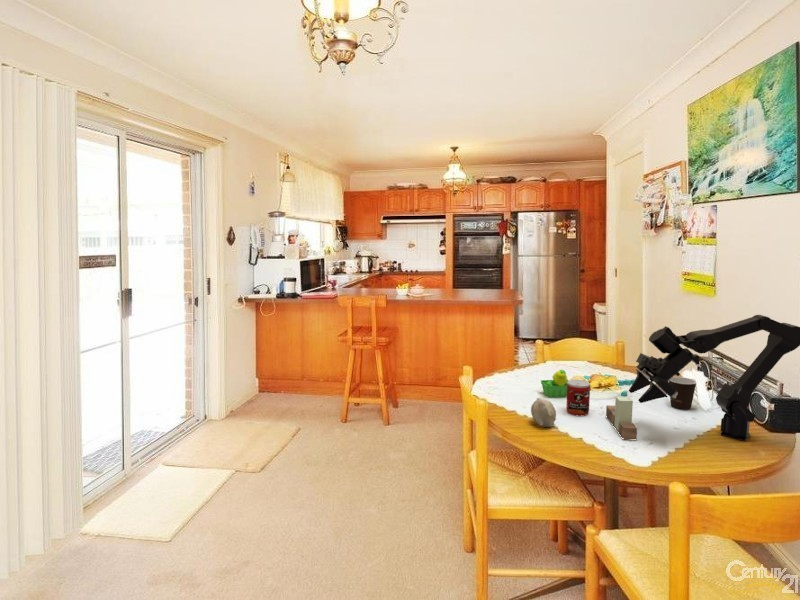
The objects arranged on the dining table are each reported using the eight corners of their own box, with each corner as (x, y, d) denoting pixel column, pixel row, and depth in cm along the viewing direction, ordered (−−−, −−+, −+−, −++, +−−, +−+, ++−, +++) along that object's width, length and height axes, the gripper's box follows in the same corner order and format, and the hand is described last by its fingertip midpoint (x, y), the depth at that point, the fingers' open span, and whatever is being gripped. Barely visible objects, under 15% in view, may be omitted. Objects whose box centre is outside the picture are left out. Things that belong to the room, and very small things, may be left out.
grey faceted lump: (548, 436, 157) (551, 413, 152) (524, 426, 161) (526, 403, 157) (559, 419, 163) (562, 397, 158) (536, 410, 168) (538, 388, 163)
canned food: (566, 415, 168) (567, 385, 167) (566, 407, 176) (567, 378, 174) (589, 417, 166) (590, 386, 164) (588, 409, 173) (589, 380, 172)
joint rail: (606, 416, 166) (606, 405, 166) (618, 416, 166) (618, 405, 165) (622, 439, 148) (623, 427, 147) (636, 440, 147) (637, 427, 146)
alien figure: (638, 384, 200) (589, 376, 213) (638, 379, 200) (589, 371, 213) (625, 398, 185) (573, 388, 198) (625, 392, 185) (574, 383, 197)
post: (627, 426, 156) (628, 396, 154) (631, 431, 152) (632, 401, 150) (614, 425, 156) (615, 396, 155) (618, 430, 152) (619, 400, 151)
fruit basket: (567, 391, 193) (567, 364, 191) (576, 398, 184) (577, 370, 183) (539, 392, 192) (540, 365, 191) (547, 399, 184) (548, 371, 182)
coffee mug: (698, 411, 169) (700, 384, 167) (672, 410, 170) (674, 383, 169) (684, 400, 180) (686, 374, 179) (660, 399, 182) (661, 374, 180)
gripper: (643, 339, 158) (608, 370, 161) (666, 353, 140) (625, 388, 143) (668, 362, 158) (631, 393, 161) (693, 379, 140) (652, 414, 143)
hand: (634, 396), depth 152 cm, fingers open, 9 cm apart
